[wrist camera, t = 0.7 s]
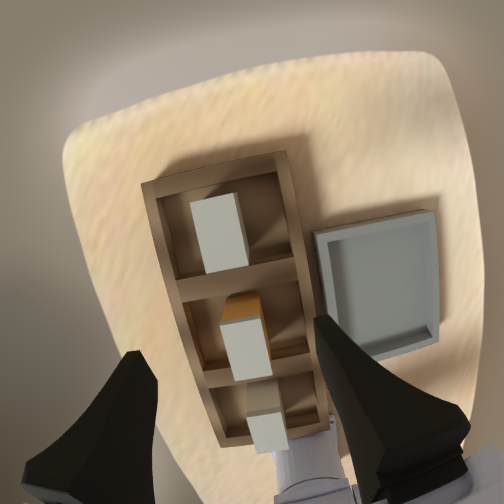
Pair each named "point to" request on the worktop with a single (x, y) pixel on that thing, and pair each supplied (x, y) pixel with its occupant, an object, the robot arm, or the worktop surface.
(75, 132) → the worktop surface
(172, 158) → the worktop surface
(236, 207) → the block
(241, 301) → the grey and orange block
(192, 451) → the worktop surface
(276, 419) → the block
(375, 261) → the tray
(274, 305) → the holder
